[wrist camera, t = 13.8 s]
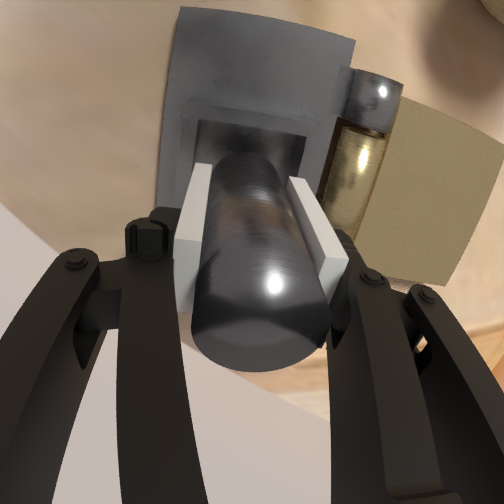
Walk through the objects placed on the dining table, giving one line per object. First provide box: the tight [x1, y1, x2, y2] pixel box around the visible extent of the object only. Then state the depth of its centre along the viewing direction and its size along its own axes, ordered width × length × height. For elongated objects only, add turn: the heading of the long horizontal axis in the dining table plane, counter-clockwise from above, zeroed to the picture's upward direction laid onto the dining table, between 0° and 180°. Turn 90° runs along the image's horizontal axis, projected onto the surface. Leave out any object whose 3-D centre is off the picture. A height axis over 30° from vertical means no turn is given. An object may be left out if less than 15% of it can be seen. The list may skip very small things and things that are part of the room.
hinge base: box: [156, 6, 404, 209], centre depth 19 cm, size 18×13×4 cm
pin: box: [191, 151, 331, 372], centre depth 12 cm, size 4×4×10 cm
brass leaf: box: [320, 96, 504, 286], centre depth 20 cm, size 13×13×3 cm
